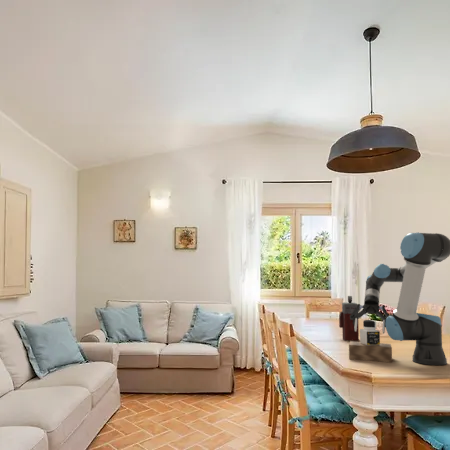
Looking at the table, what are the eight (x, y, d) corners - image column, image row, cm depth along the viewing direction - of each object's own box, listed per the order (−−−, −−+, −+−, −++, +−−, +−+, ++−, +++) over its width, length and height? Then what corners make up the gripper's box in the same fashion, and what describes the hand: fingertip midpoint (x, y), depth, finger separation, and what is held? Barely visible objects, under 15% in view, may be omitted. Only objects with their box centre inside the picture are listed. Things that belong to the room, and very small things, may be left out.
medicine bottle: (367, 345, 214) (366, 321, 215) (359, 343, 221) (359, 319, 222) (380, 345, 215) (379, 320, 217) (372, 343, 222) (372, 319, 224)
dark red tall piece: (338, 338, 284) (338, 295, 287) (356, 338, 283) (355, 295, 286) (340, 340, 276) (340, 295, 279) (358, 340, 274) (358, 296, 277)
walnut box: (390, 357, 220) (390, 343, 221) (392, 362, 208) (391, 347, 209) (350, 354, 226) (349, 341, 227) (349, 359, 215) (348, 344, 216)
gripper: (397, 304, 230) (396, 337, 215) (349, 302, 240) (344, 333, 225) (396, 295, 226) (395, 327, 211) (347, 293, 236) (343, 324, 221)
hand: (369, 330), depth 218 cm, fingers open, 13 cm apart
